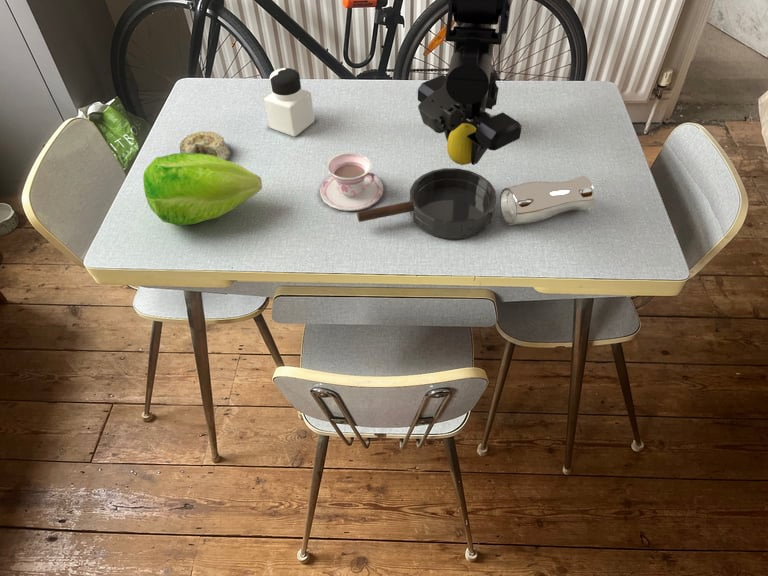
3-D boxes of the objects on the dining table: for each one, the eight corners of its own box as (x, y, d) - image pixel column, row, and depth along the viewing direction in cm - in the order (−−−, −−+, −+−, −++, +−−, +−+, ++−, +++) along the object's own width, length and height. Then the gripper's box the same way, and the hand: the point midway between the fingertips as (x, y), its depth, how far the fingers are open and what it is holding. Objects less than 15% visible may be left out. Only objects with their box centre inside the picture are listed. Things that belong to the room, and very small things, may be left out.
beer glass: (587, 166, 100) (508, 179, 97) (601, 201, 98) (521, 216, 95) (569, 184, 107) (495, 197, 104) (582, 218, 105) (507, 232, 102)
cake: (179, 150, 120) (172, 126, 116) (227, 141, 122) (221, 117, 118) (182, 174, 113) (174, 150, 109) (233, 164, 115) (227, 140, 111)
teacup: (309, 203, 107) (305, 176, 102) (336, 166, 114) (333, 140, 109) (368, 218, 104) (367, 191, 99) (392, 179, 111) (392, 152, 106)
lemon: (476, 176, 96) (481, 135, 90) (443, 172, 97) (446, 131, 91) (479, 156, 100) (484, 115, 94) (448, 153, 100) (450, 112, 94)
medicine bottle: (315, 121, 125) (308, 69, 116) (295, 137, 121) (286, 85, 112) (289, 112, 128) (281, 61, 119) (269, 128, 124) (258, 76, 115)
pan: (399, 194, 108) (399, 176, 105) (474, 179, 111) (476, 161, 108) (425, 248, 98) (425, 230, 95) (507, 230, 101) (510, 212, 98)
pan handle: (356, 217, 100) (356, 209, 99) (411, 206, 102) (411, 198, 101) (359, 224, 99) (358, 216, 98) (414, 212, 101) (414, 205, 100)
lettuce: (265, 235, 101) (252, 180, 92) (149, 244, 100) (125, 190, 91) (267, 186, 111) (256, 132, 102) (162, 194, 109) (140, 141, 100)
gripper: (390, 60, 87) (391, 146, 99) (472, 113, 77) (462, 203, 89) (447, 38, 91) (441, 124, 103) (531, 87, 81) (515, 176, 93)
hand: (462, 155), depth 97 cm, fingers closed on lemon, 5 cm apart
